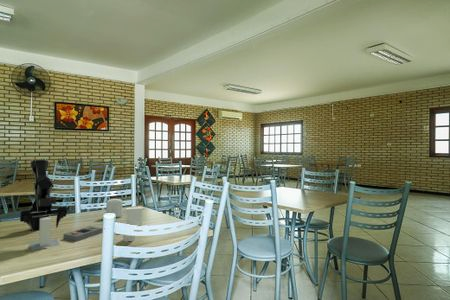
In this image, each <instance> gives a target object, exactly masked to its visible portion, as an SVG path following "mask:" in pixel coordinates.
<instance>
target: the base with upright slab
mask: <svg viewBox="0 0 450 300" xmlns="http://www.w3.org/2000/svg"><path fill="white" fill-rule="evenodd" d="M143 209H144V208H143V207H142V206H139V207H137V206H136V207H128V208H127V207H126V209H125V211H126V212H125V214H126V215H125V225H126V224H130V225H138V226H142V227H143V217H144V216H143Z"/></svg>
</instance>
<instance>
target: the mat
mask: <svg viewBox="0 0 450 300" xmlns="http://www.w3.org/2000/svg"><path fill="white" fill-rule="evenodd" d="M58 246H61V244H60V242H59V241H58V239H57V238H55V239H53V238H52V239H51V240H50V245H46V246H40V245H39V241H35V242H29V248H30V252H35V251H36V252H37V251H42V250H46V249H48V248H51V247H58Z"/></svg>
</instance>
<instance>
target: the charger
mask: <svg viewBox="0 0 450 300" xmlns="http://www.w3.org/2000/svg"><path fill="white" fill-rule="evenodd" d="M51 230H52V219H51V217H50V216H49V217H44V218H40V227H39V230H38V233H39V235H38V236H39V237H38V242H39V245H40V246H46V245H50V240H52V239H51V234H52V233H51Z"/></svg>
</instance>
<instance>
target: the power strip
mask: <svg viewBox="0 0 450 300" xmlns="http://www.w3.org/2000/svg"><path fill="white" fill-rule="evenodd" d="M103 230H104V229H103V227H97V226H91V225H90V226H86V227H83V228H80V229H76V230H73V231H69V232H65V233H63V235H62V236H63V238H62V239H63V240H67V241H72V242H79V241H82V240H84V239H88V238H91V237H94V236H97V235H100V234H102V233H103Z"/></svg>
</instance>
